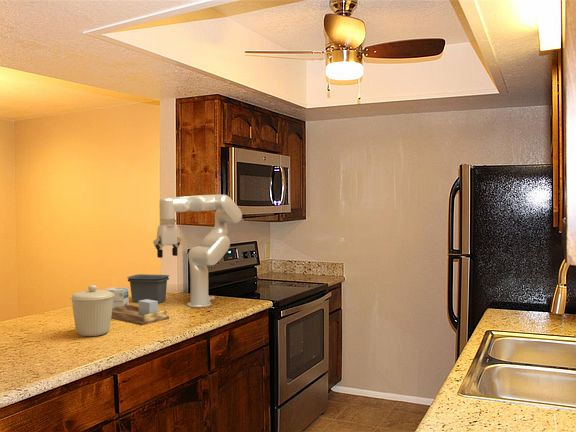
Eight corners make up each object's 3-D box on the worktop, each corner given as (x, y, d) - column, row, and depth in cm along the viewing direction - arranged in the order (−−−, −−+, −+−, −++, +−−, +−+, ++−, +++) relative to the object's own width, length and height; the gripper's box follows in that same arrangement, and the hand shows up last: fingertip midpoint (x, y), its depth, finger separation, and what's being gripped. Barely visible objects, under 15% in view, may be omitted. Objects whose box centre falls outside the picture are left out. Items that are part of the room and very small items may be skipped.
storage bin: (124, 303, 298) (124, 277, 298) (138, 297, 313) (138, 273, 313) (161, 305, 294) (160, 278, 293) (173, 299, 309) (172, 274, 308)
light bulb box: (129, 307, 287) (129, 287, 286) (124, 310, 280) (123, 289, 279) (109, 307, 288) (109, 286, 287) (104, 310, 281) (103, 289, 280)
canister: (81, 328, 243) (80, 281, 242) (121, 328, 243) (120, 281, 242) (63, 339, 225) (62, 288, 224) (106, 339, 225) (105, 288, 224)
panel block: (147, 315, 263) (146, 299, 262) (158, 317, 258) (157, 301, 258) (138, 317, 259) (138, 300, 258) (149, 319, 254) (149, 302, 254)
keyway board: (129, 310, 279) (129, 302, 279) (169, 318, 262) (169, 310, 261) (102, 316, 266) (102, 307, 266) (142, 325, 249) (142, 316, 248)
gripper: (175, 221, 283) (175, 254, 283) (148, 223, 269) (148, 257, 269) (185, 222, 278) (185, 255, 279) (158, 223, 264) (159, 258, 265)
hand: (167, 256), depth 274 cm, fingers open, 9 cm apart
